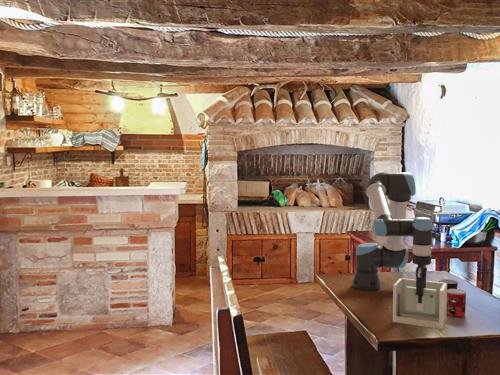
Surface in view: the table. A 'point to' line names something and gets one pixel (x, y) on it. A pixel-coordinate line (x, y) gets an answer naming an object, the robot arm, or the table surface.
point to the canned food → (456, 303)
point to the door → (428, 300)
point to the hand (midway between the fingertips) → (420, 309)
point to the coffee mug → (450, 283)
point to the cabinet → (417, 317)
